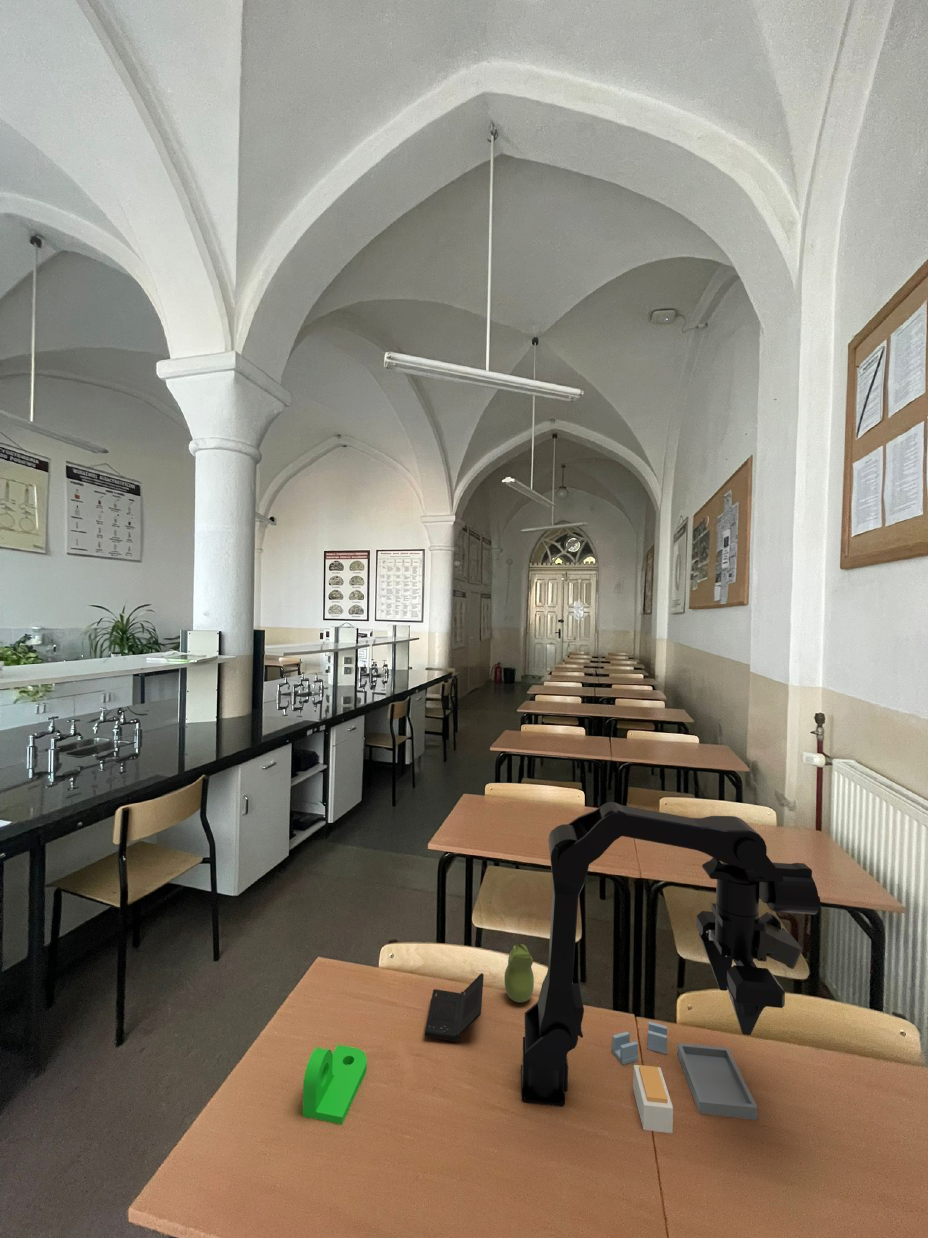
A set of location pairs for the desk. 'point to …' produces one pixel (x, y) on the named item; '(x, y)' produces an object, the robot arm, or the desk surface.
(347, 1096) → the mechanical part
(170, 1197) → the desk surface
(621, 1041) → the clip
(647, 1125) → the white orange block
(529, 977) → the pear
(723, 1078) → the grey rectangular tray
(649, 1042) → the clip
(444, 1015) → the handheld gaming console
